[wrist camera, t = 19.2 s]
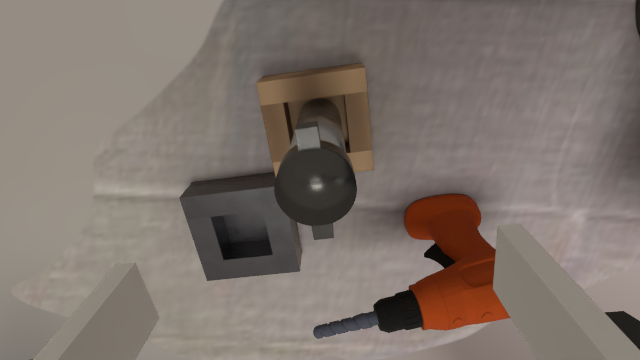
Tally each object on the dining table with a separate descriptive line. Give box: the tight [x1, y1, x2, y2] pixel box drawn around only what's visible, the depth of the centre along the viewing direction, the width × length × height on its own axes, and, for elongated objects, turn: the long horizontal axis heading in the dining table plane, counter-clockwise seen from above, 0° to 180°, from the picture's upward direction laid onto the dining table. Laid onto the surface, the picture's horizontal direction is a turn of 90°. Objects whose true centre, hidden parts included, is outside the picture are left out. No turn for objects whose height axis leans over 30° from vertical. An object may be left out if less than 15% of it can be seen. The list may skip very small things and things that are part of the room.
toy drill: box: [313, 194, 510, 339], centre depth 31 cm, size 5×19×15 cm, turn 102°
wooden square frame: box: [256, 63, 374, 177], centre depth 32 cm, size 9×9×4 cm
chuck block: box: [180, 173, 302, 281], centre depth 37 cm, size 10×10×4 cm
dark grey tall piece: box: [274, 98, 357, 240], centre depth 26 cm, size 7×5×15 cm, turn 8°
